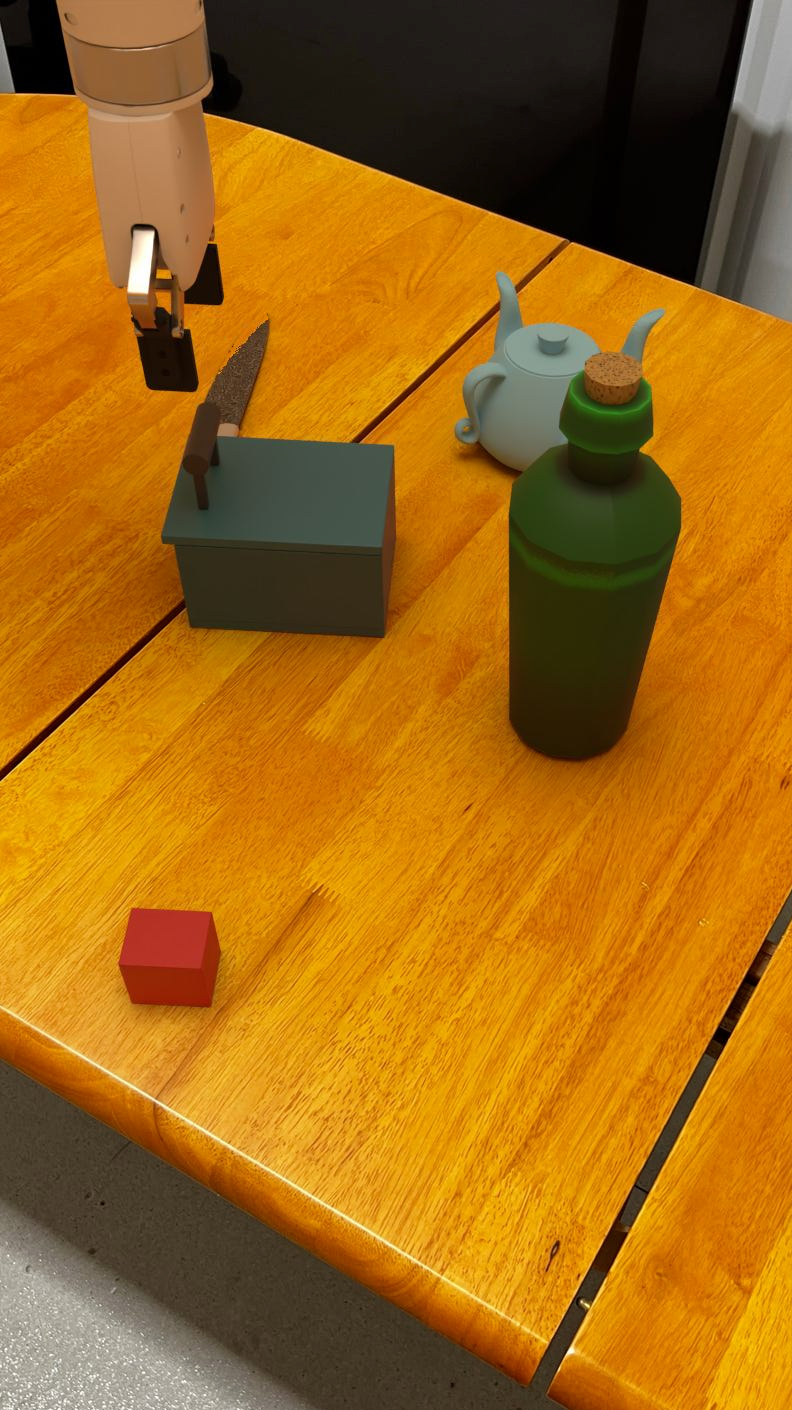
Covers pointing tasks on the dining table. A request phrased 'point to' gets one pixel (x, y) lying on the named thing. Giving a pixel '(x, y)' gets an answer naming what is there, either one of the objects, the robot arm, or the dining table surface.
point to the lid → (278, 492)
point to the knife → (238, 381)
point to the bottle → (588, 564)
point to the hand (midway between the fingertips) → (187, 344)
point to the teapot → (530, 381)
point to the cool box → (289, 587)
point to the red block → (170, 957)
